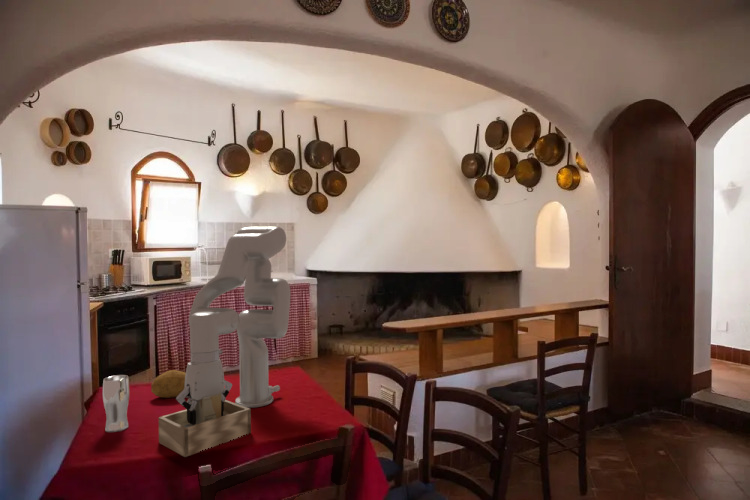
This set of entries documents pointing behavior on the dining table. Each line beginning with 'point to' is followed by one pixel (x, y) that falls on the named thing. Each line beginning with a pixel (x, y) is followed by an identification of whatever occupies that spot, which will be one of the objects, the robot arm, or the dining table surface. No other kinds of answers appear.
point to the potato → (169, 384)
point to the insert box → (203, 429)
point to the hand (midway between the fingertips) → (205, 418)
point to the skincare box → (208, 408)
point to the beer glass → (116, 402)
